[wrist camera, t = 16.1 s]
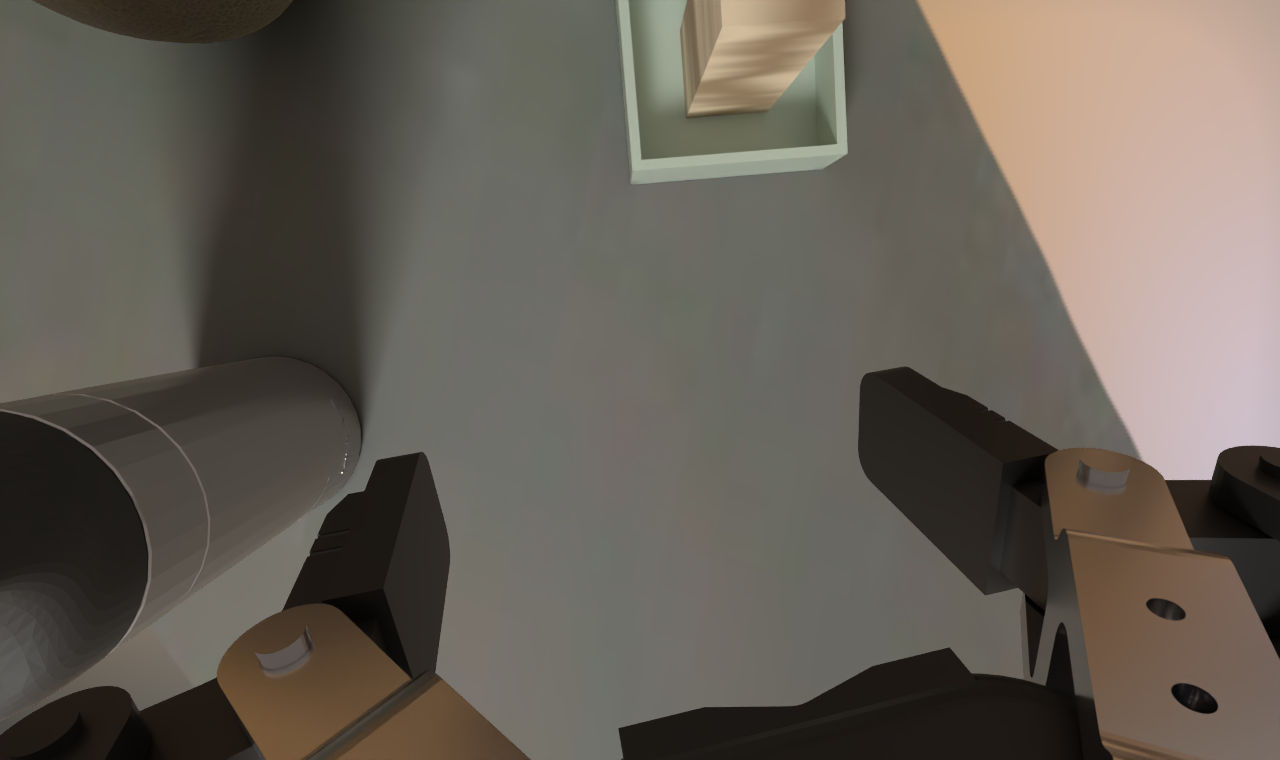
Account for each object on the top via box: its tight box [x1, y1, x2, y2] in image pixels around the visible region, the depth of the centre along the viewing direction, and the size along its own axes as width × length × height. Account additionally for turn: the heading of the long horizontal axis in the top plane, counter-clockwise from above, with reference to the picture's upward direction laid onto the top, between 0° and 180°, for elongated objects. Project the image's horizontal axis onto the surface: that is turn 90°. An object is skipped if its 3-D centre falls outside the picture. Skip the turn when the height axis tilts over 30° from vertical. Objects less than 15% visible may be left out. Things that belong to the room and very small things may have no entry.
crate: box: [615, 0, 848, 185], centre depth 34 cm, size 11×11×4 cm
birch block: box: [680, 0, 846, 118], centre depth 29 cm, size 4×4×12 cm
